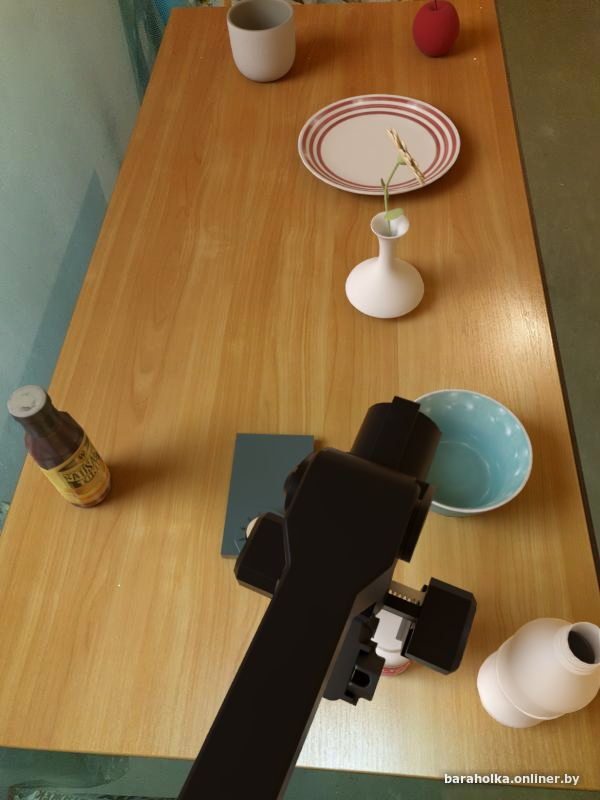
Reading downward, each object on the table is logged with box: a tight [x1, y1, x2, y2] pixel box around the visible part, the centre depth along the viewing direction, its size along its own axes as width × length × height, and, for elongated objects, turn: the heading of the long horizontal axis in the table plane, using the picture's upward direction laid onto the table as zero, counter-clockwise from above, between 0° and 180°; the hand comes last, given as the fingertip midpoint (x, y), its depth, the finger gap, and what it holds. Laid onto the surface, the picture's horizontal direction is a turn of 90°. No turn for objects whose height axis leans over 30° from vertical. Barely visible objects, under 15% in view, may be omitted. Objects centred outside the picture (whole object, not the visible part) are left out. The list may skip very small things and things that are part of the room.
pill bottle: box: [371, 609, 413, 678], centre depth 64 cm, size 6×6×11 cm
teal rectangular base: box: [220, 432, 315, 560], centre depth 77 cm, size 17×10×3 cm, turn 176°
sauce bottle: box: [6, 384, 112, 509], centre depth 72 cm, size 6×6×20 cm
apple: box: [411, 0, 461, 57], centre depth 122 cm, size 9×9×10 cm
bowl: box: [413, 388, 534, 518], centre depth 75 cm, size 16×16×8 cm
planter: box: [226, 0, 296, 83], centre depth 121 cm, size 12×12×11 cm
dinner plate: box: [297, 93, 461, 196], centre depth 109 cm, size 28×27×3 cm
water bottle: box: [476, 617, 600, 729], centre depth 55 cm, size 7×7×25 cm
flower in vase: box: [345, 127, 426, 320], centre depth 84 cm, size 13×11×25 cm
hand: (351, 613), depth 58 cm, fingers open, 9 cm apart
